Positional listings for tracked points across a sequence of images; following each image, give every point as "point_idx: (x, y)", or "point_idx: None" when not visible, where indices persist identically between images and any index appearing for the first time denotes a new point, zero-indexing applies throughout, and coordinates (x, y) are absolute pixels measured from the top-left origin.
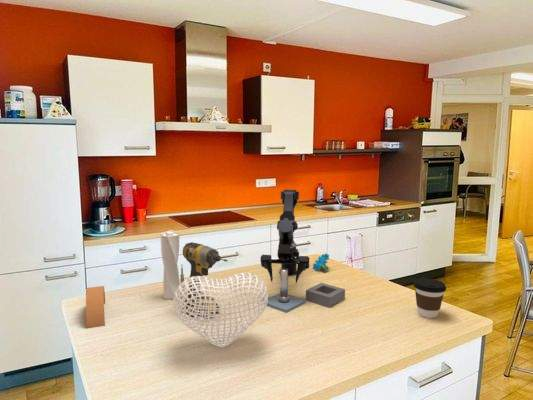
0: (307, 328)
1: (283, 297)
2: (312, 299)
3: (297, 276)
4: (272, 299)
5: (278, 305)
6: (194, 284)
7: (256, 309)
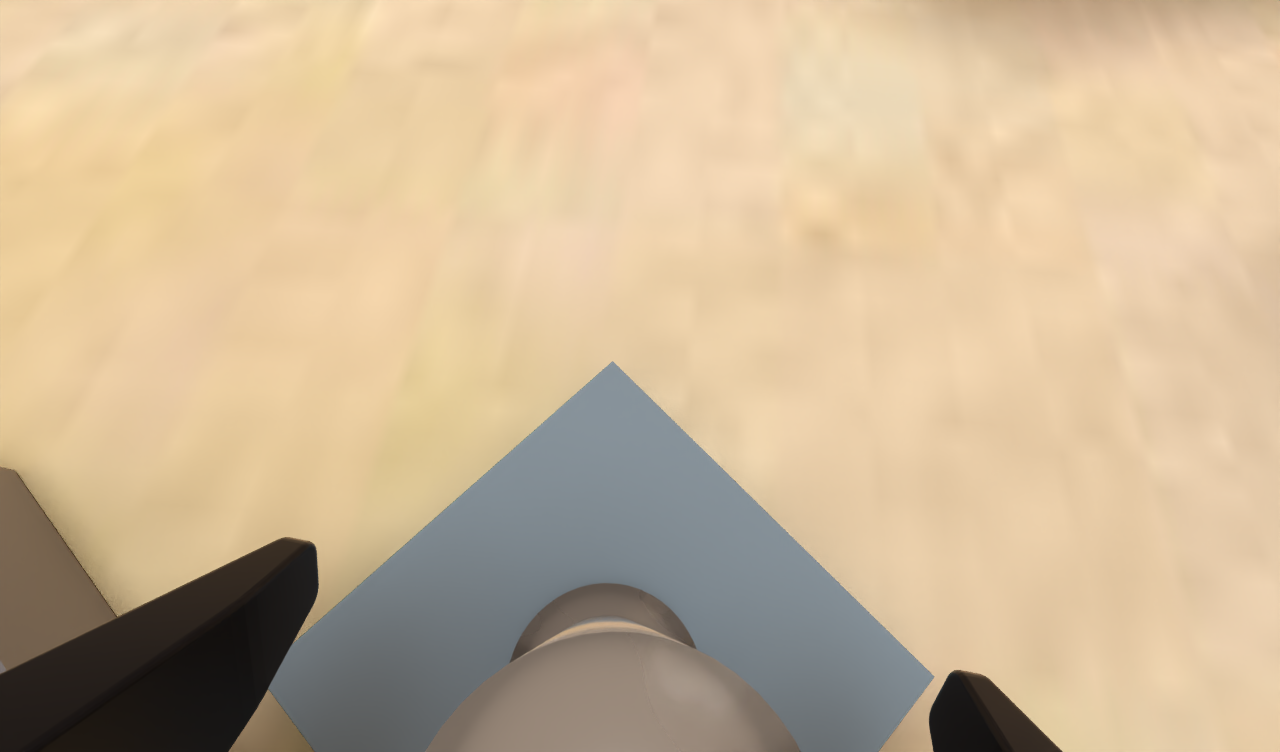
0: (470, 63)
1: (621, 610)
2: None
3: (148, 619)
4: None
5: (699, 507)
6: None
7: None
